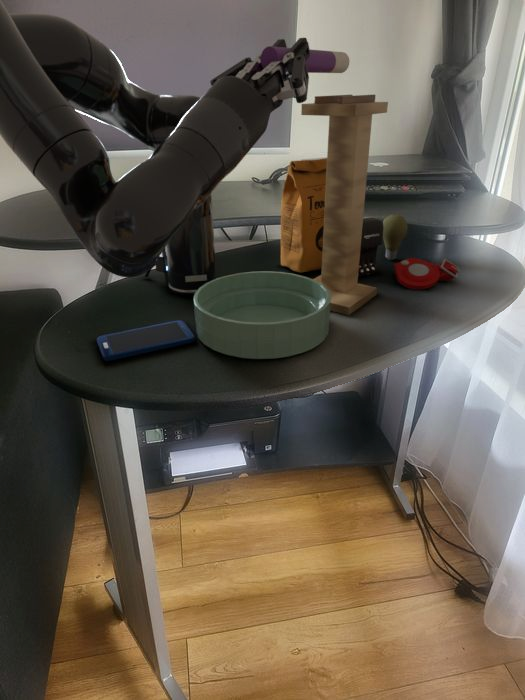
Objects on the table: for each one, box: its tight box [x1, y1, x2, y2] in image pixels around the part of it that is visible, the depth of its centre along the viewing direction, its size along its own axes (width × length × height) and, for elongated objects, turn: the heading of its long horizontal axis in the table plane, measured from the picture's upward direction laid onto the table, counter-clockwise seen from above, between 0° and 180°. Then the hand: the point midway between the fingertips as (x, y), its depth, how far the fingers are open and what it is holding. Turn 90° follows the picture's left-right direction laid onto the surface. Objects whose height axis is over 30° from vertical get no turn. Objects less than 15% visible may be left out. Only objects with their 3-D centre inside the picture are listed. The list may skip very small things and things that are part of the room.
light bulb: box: [382, 213, 409, 262], centre depth 104 cm, size 6×6×10 cm
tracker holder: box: [393, 257, 461, 290], centre depth 95 cm, size 12×4×10 cm
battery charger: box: [358, 216, 384, 278], centre depth 96 cm, size 7×4×11 cm, turn 116°
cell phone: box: [96, 319, 196, 362], centre depth 74 cm, size 7×14×1 cm, turn 115°
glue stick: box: [260, 45, 350, 74], centre depth 63 cm, size 18×3×3 cm, turn 144°
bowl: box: [192, 270, 331, 360], centre depth 76 cm, size 21×21×6 cm
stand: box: [300, 94, 389, 316], centre depth 81 cm, size 12×11×33 cm
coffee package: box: [280, 157, 327, 274], centre depth 98 cm, size 10×12×22 cm
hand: (294, 46), depth 60 cm, fingers closed on glue stick, 2 cm apart
